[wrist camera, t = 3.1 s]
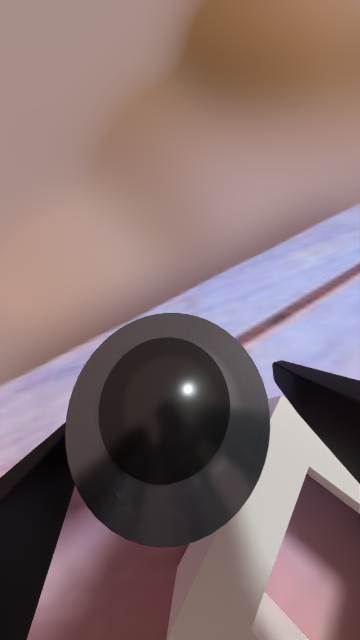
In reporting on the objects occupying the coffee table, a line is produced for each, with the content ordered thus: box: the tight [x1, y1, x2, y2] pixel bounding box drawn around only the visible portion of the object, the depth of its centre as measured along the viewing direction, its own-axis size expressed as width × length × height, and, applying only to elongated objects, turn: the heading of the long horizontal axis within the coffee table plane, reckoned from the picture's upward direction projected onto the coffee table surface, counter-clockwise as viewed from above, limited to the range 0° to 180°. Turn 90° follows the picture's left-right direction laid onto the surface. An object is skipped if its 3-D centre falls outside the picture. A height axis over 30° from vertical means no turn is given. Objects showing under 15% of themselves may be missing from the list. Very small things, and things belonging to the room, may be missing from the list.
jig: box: [166, 396, 360, 640], centre depth 9 cm, size 11×11×4 cm
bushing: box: [65, 313, 270, 547], centre depth 9 cm, size 4×4×12 cm
